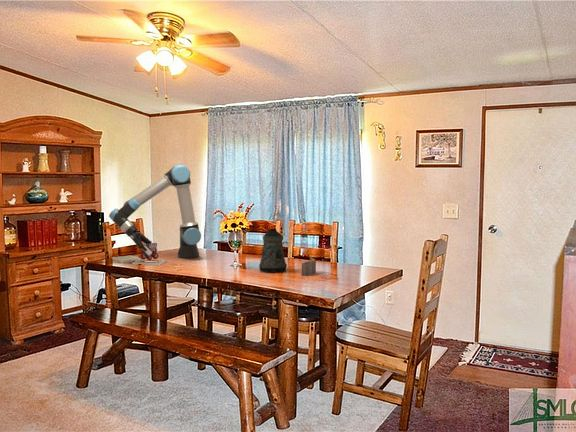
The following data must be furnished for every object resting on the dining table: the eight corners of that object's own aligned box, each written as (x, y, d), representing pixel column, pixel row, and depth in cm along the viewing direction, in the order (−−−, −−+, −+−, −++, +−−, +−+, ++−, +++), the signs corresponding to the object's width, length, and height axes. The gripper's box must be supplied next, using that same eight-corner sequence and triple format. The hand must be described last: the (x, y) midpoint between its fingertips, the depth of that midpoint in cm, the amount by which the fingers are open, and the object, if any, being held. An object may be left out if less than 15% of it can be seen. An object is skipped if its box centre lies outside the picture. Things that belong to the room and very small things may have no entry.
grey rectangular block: (311, 273, 299) (311, 256, 298) (315, 273, 297) (316, 257, 297) (301, 276, 290) (301, 259, 289) (305, 276, 288) (305, 259, 287)
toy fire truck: (138, 260, 323) (137, 244, 323) (152, 257, 334) (152, 241, 333) (145, 261, 320) (145, 244, 319) (160, 258, 330) (159, 242, 329)
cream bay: (112, 259, 343) (112, 257, 343) (130, 257, 352) (130, 255, 352) (122, 262, 330) (122, 260, 329) (141, 260, 338) (141, 258, 338)
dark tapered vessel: (273, 274, 292) (273, 231, 291) (250, 270, 305) (250, 229, 303) (292, 270, 305) (292, 229, 303) (268, 266, 317) (268, 227, 316)
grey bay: (166, 262, 333) (166, 259, 333) (159, 265, 320) (159, 263, 320) (139, 261, 334) (139, 259, 334) (132, 265, 321) (132, 262, 321)
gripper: (132, 231, 338) (155, 254, 338) (118, 234, 315) (143, 259, 315) (139, 223, 337) (163, 246, 337) (126, 226, 315) (151, 251, 315)
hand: (153, 252), depth 326 cm, fingers closed on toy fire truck, 10 cm apart
